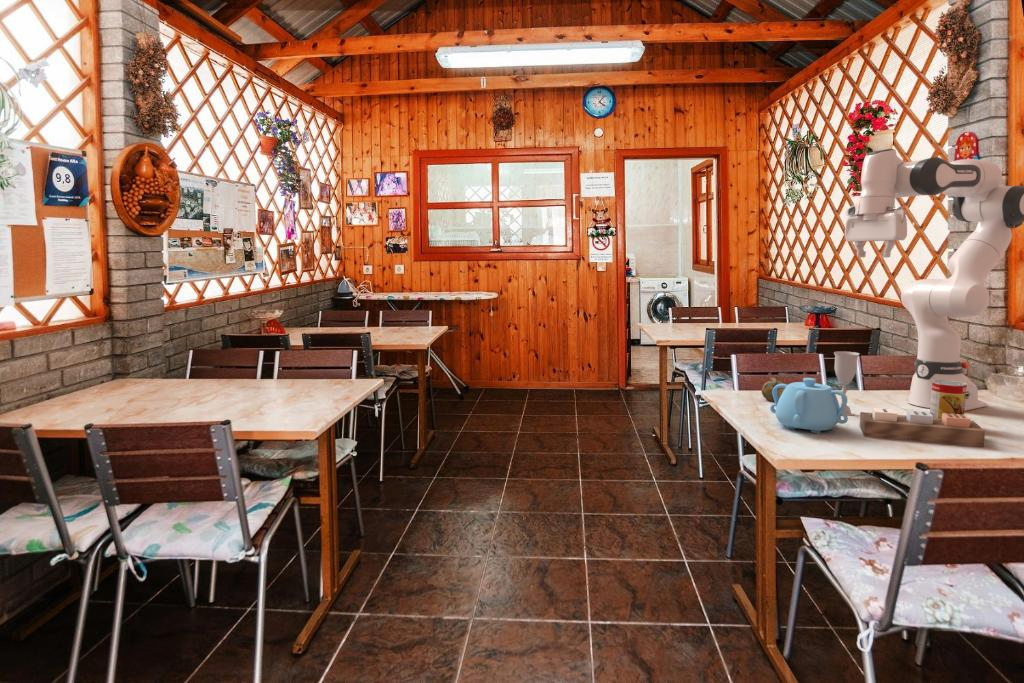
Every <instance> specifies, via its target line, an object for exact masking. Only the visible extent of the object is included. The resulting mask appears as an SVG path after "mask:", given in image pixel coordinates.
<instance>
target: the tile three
mask: <svg viewBox="0 0 1024 683" xmlns="http://www.w3.org/2000/svg"><path fill="white" fill-rule="evenodd" d="M970 421H971V418H970V417H969V416H967V415H966V414H964V415H961V414H947V413H942V423H943V424H944V425H945V426H957V427H970Z"/></svg>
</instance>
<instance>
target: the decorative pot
mask: <svg viewBox="0 0 1024 683" xmlns="http://www.w3.org/2000/svg"><path fill="white" fill-rule="evenodd" d="M780 387H783V388H785V389H784V391H783V393H782V395H781V397H780V399H778V396H777V389H778V388H780ZM772 394H773V398H774V401H773V402H774V403H773V404H772V403H771V405H770V408H769V409H770V412H771V413H772V414H774V415H775V417H776V419H777V421H778V422H779V424H781V425H783V426H785V429H787V428H789V429H788V430H796V429H803V430H809V431H810V433H812V432H813V433H812V434H822V431H829V430H832V429H834V427H836V425H837V424H841V425H842V424H846V423H847V422H848V421H849V417H848V415H846V414H842V413H843V411H844V409H845V407H846V405H847V406H848V397H847V395H846V394H844V393H843V392H842V391H841V390H838V389H833V387H832V386H831V385H828V384H821V383H817V379H816V378H812V377H804V378H803V379H802V381H797V382H796V381H795V382H791V383H788V384H787V383H784V384H778V385H776V386H775V387H774V388H773V391H772ZM837 395H838V396H840V398H841V397H842V399H843V402H842V401H841V402H842V405H841V407H840V406H839V405H840V403H839V400H838V398H837ZM842 399H841V400H842ZM842 417H843V419H842Z"/></svg>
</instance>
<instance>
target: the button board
mask: <svg viewBox="0 0 1024 683" xmlns="http://www.w3.org/2000/svg"><path fill="white" fill-rule="evenodd" d="M872 413H873V412H864V411H860V413H859V424H858V425H859V426H858V427H859V428H860V431H861V432H862V435H863V437H866V438H876V439H877V438H878V439H888V440H902V441H913V442H922V443H923V442H924V443H933V444H934V443H935V444H946V445H957V446H968V447H979V448H984V446H985V441H986V440H985V438H986V430H985V429H984V428H983V427H981V426H980V425H979V424H978V423H977V422H975V421H974V420H970V427H957V426H945V425H944V424H943V423H942V418H933V424H920V423H908V421H907V420H906V418H907V415H904V414H897V422H896V421H883V420H873V419H872Z"/></svg>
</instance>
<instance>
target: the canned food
mask: <svg viewBox="0 0 1024 683" xmlns="http://www.w3.org/2000/svg"><path fill="white" fill-rule="evenodd" d="M966 388H967V384H966V383H963V382H959V381H951V380H934V381H932V391H931V403H930V408H929V413H930V414H931V415H932V416H933V418H942V413H947V414H961V415H965V411H964V410H965V399H966Z"/></svg>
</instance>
